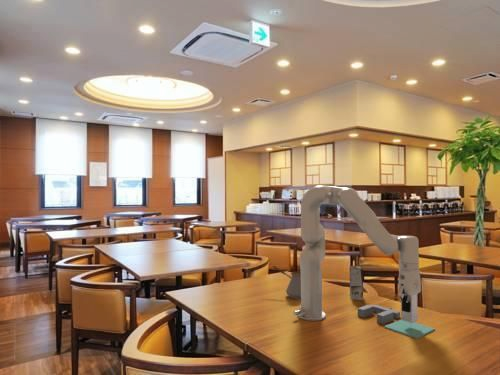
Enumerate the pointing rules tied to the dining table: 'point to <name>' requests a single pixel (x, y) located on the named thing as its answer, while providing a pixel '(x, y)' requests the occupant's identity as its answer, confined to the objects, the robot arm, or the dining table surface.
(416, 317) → the steel bar
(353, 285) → the coffee box
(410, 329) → the mat
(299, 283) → the coffee pot
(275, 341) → the dining table surface
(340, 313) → the dining table surface
